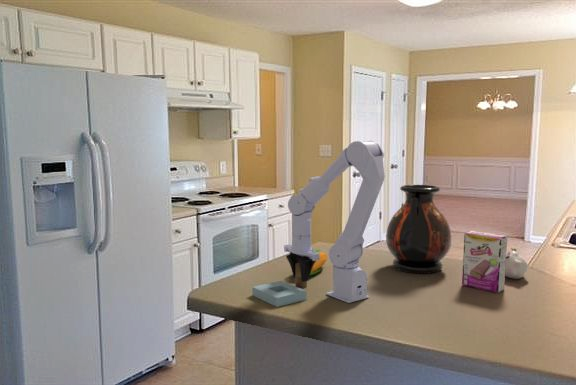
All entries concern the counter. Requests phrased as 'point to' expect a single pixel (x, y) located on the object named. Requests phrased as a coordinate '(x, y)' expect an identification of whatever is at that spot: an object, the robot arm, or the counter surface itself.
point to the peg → (299, 277)
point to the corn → (319, 262)
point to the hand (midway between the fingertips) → (301, 279)
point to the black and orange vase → (418, 232)
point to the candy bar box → (484, 261)
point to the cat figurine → (515, 265)
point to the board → (279, 293)
